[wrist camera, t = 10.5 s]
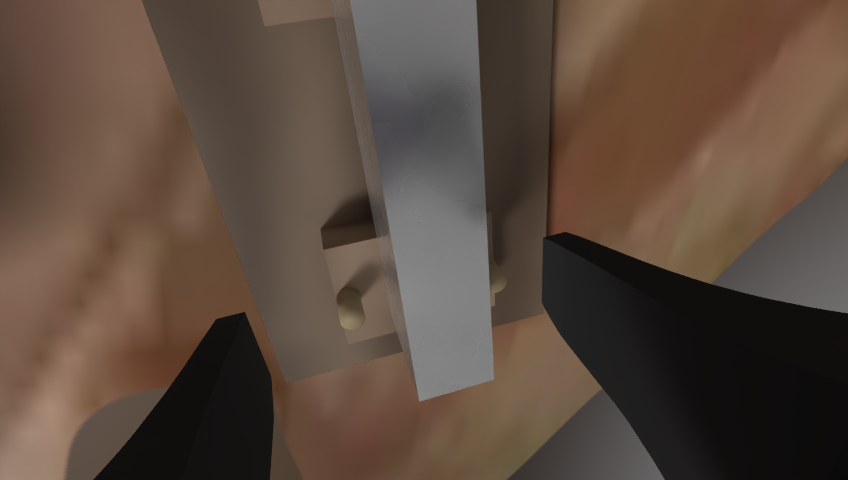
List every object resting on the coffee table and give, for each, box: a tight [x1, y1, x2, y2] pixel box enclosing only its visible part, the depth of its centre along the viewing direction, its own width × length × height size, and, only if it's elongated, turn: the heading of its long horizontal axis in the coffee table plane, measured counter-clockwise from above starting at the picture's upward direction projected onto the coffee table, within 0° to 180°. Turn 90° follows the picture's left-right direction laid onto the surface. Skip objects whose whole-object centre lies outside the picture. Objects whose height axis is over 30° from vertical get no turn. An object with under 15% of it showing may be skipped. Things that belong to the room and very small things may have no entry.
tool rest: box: [142, 0, 553, 383], centre depth 17 cm, size 14×24×4 cm, turn 6°
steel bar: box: [331, 0, 494, 401], centre depth 14 cm, size 16×3×5 cm, turn 6°
